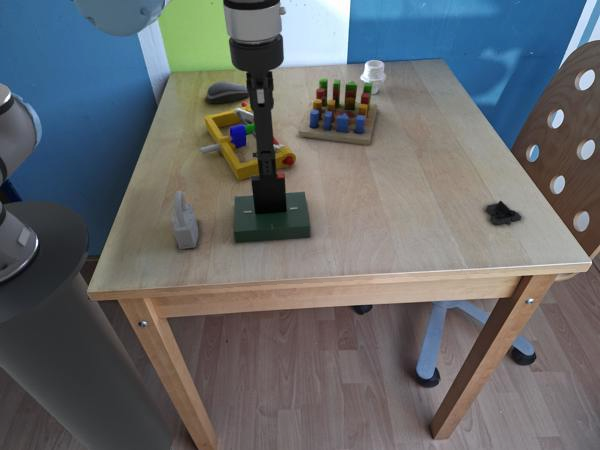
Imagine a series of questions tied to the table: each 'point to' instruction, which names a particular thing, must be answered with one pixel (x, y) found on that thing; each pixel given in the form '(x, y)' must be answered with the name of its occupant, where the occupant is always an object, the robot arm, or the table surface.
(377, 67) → the pipe fitting
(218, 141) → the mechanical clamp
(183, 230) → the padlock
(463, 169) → the table surface
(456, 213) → the table surface
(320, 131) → the peg board
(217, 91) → the computer mouse
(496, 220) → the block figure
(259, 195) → the black bar red tab
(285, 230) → the green rectangular block
